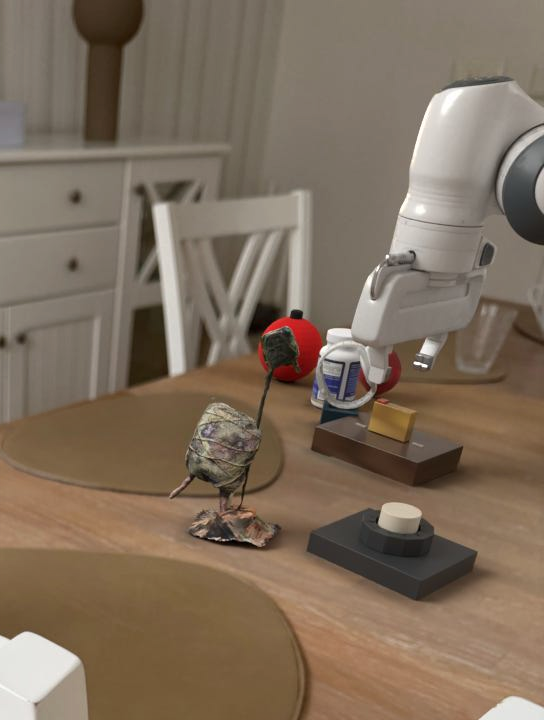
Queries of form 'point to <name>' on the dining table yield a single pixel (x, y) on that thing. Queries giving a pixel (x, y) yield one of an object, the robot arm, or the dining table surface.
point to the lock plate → (387, 450)
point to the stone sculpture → (234, 454)
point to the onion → (393, 377)
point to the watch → (341, 407)
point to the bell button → (400, 518)
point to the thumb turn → (392, 420)
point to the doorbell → (392, 554)
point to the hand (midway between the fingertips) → (400, 375)
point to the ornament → (306, 342)
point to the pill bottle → (338, 369)
